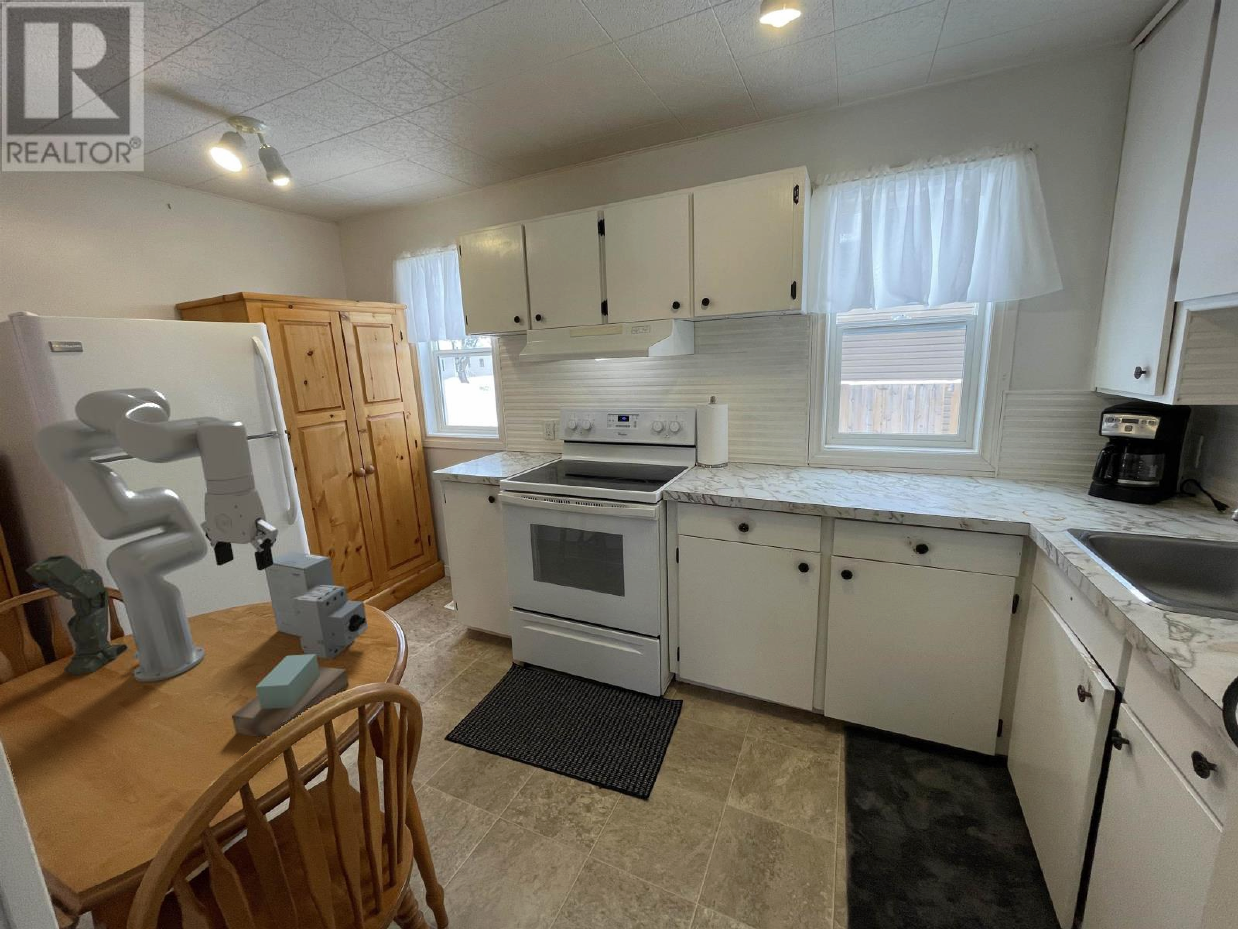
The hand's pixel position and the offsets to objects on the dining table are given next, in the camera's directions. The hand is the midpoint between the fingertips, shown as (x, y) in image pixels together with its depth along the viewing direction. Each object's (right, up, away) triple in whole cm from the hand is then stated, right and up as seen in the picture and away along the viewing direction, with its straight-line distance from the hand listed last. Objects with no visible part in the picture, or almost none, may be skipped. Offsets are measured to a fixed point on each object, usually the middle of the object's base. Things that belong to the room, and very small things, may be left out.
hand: (245, 565), depth 103 cm
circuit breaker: (+8, -25, +21) cm, 34 cm away
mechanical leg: (-50, -28, +19) cm, 60 cm away
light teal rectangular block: (+9, -26, 0) cm, 27 cm away
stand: (+10, -30, +1) cm, 31 cm away
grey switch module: (-6, -23, +31) cm, 39 cm away
